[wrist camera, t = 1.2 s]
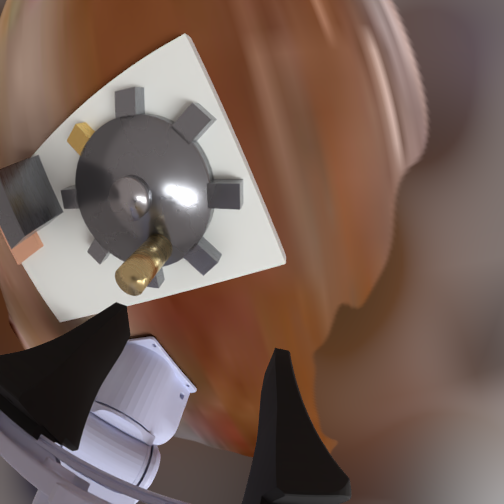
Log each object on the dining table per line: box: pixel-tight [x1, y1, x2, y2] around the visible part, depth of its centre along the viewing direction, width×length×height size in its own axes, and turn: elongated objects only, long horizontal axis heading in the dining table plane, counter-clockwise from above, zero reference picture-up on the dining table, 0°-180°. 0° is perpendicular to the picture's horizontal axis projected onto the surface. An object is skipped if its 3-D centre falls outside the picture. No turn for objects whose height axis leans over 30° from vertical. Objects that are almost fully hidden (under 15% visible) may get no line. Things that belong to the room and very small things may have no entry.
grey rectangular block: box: [0, 155, 63, 249], centre depth 17 cm, size 6×4×5 cm, turn 23°
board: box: [0, 34, 286, 322], centre depth 20 cm, size 17×29×2 cm, turn 113°
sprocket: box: [61, 87, 244, 296], centre depth 16 cm, size 14×14×6 cm
